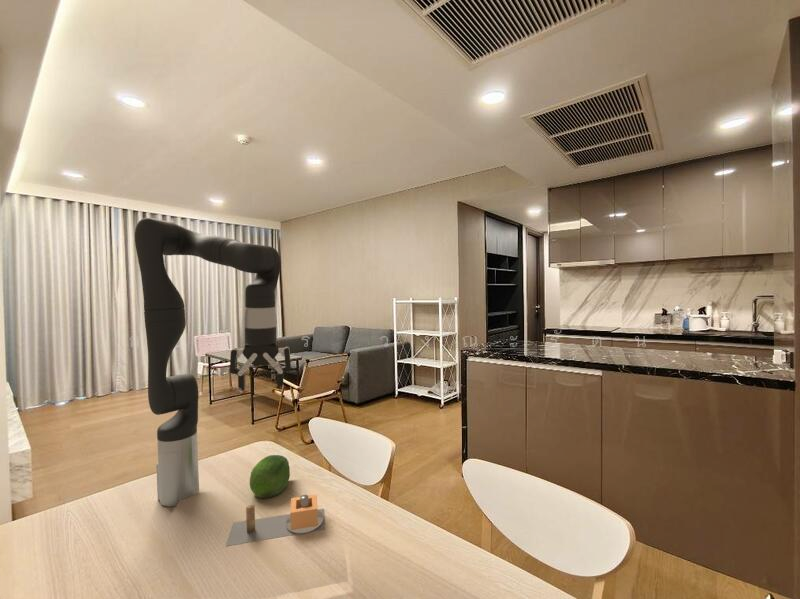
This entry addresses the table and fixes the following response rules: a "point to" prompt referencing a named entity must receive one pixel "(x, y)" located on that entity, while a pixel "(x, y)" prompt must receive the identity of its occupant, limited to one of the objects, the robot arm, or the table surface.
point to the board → (262, 530)
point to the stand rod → (250, 518)
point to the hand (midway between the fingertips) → (261, 388)
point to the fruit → (270, 476)
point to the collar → (303, 513)
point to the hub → (309, 529)
